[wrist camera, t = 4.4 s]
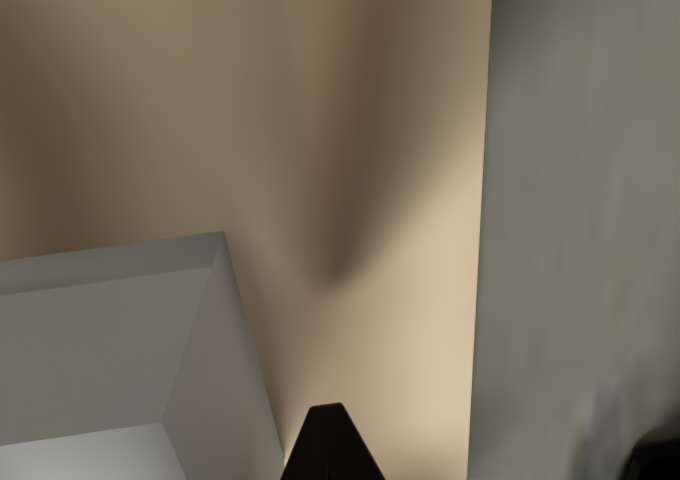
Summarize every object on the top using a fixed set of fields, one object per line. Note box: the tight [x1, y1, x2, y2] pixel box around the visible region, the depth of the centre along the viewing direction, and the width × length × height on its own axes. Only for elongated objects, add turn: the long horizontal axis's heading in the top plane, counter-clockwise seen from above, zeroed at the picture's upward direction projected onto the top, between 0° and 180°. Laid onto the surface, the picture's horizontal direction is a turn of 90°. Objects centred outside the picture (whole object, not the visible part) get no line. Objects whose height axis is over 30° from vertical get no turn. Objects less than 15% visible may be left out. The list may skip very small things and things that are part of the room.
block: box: [0, 231, 285, 480], centre depth 9 cm, size 8×8×5 cm
